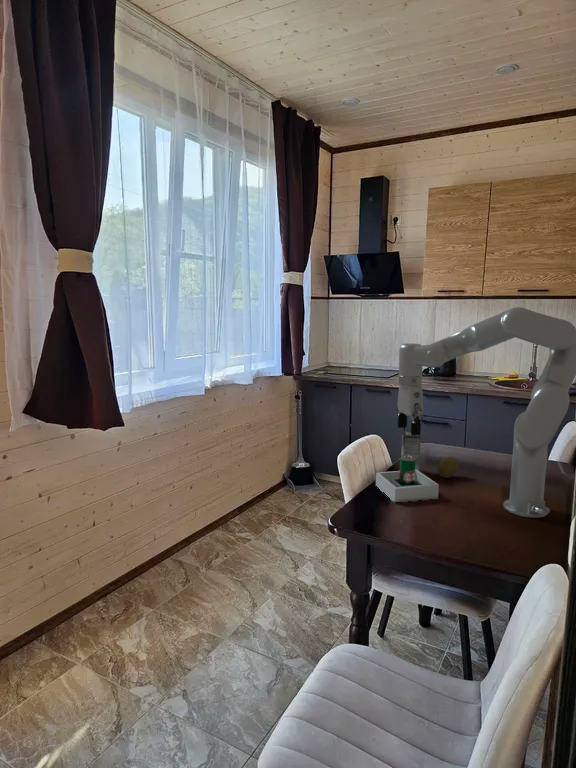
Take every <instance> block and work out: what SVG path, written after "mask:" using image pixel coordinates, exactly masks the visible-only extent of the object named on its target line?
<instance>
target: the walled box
mask: <svg viewBox="0 0 576 768" xmlns="http://www.w3.org/2000/svg"><path fill="white" fill-rule="evenodd" d="M399 476H400V470H397V471H396V470H394V471H393V470H392V471H383V472H381V471H380V472H376V473H375V487H376V486H377V487H378V488H379V489H380V492H382V493H383V492H384V493H385V494H386V495H387V496H388V497H389V498H390V501H392V502H393V501H394V502H402V503H408V501H412V502H419V501H418V500H422V501H430V500H429V499H433V500H439V489H440V487H439V483H437V482H436V481H434V480H432V479H431V478H430V477H428V476H427V475H425V474H424V473H423V472H421V471H420V470H419V471H418V470H415V479H414V485H408V486H401V485H400V484H399ZM377 487H376V488H377ZM378 488H377V489H378ZM384 493H383V494H384ZM385 494H384V495H385ZM386 495H385V496H386ZM387 496H386V497H387ZM388 497H387V498H388ZM389 498H388V499H389ZM394 502H393V503H394Z"/></svg>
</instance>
